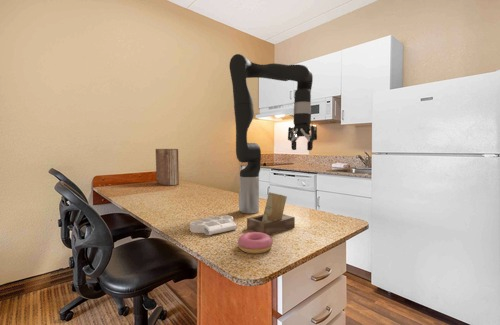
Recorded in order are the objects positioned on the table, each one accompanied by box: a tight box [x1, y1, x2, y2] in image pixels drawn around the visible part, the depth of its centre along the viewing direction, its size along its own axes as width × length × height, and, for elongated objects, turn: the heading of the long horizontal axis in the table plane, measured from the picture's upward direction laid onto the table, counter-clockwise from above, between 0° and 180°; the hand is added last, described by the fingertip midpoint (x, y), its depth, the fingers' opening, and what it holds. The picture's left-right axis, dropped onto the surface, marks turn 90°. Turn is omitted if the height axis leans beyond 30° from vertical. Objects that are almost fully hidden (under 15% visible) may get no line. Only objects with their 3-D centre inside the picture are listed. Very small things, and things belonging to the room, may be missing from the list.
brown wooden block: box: [155, 148, 180, 187], centre depth 218 cm, size 25×9×30 cm, turn 41°
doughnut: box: [237, 231, 273, 255], centre depth 80 cm, size 11×11×4 cm
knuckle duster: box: [189, 214, 238, 237], centre depth 99 cm, size 3×18×15 cm
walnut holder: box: [246, 213, 296, 236], centre depth 99 cm, size 11×15×4 cm
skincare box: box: [262, 192, 288, 223], centre depth 99 cm, size 6×4×12 cm
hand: (301, 150), depth 114 cm, fingers open, 8 cm apart
